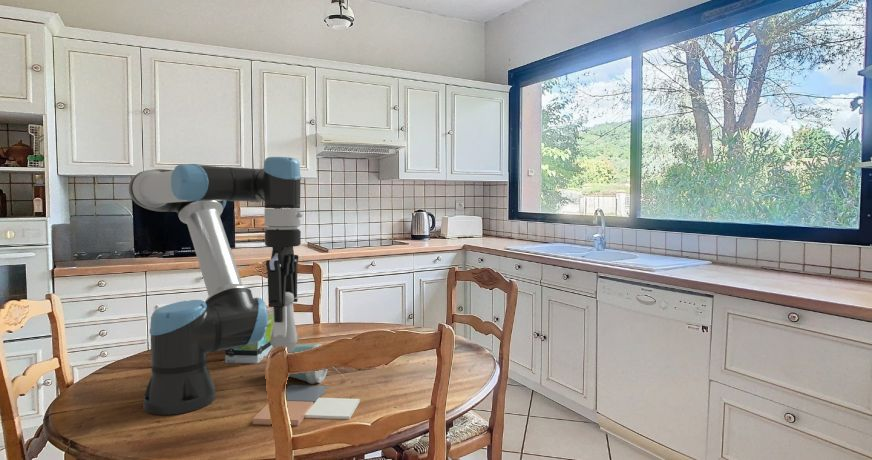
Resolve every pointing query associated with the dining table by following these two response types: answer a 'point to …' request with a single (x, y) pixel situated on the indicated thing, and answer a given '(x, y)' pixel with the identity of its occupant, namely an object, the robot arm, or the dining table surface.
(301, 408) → the terracotta coaster
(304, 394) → the slate coaster
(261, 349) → the tea box
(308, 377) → the disposable coffee cup
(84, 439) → the dining table surface
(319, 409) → the white coaster
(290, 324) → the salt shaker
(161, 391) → the robot arm
